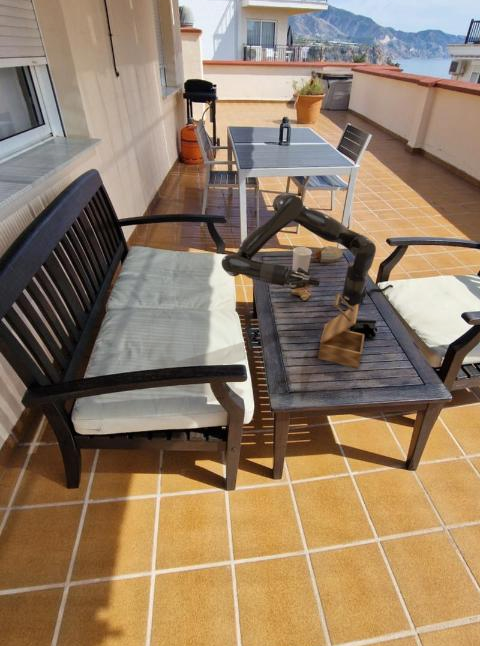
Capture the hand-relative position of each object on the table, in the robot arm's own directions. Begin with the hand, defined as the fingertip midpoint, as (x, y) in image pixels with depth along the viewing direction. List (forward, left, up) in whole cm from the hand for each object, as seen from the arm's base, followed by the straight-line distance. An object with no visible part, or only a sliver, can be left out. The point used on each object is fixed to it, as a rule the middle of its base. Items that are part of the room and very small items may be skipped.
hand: (319, 282), depth 142 cm
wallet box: (-9, +8, -30) cm, 33 cm away
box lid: (-8, +7, -16) cm, 19 cm away
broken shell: (-15, -34, -30) cm, 48 cm away
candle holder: (-27, -56, -30) cm, 69 cm away
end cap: (-25, +1, -30) cm, 39 cm away
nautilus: (-46, -63, -30) cm, 83 cm away
